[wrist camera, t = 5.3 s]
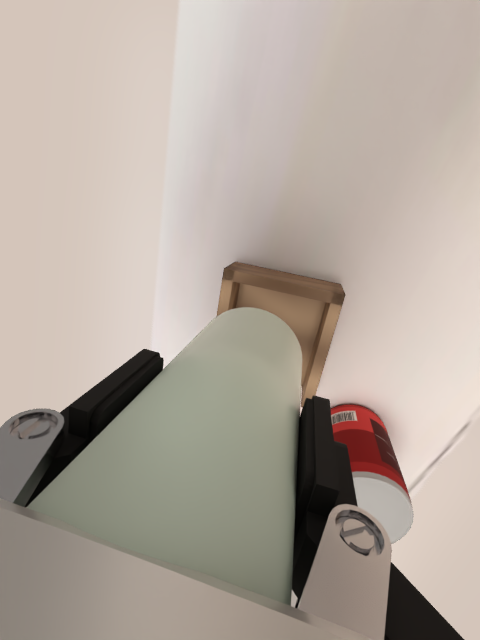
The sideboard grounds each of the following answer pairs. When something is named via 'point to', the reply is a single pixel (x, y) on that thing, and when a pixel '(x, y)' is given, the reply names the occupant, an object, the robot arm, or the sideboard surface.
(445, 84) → the sideboard surface
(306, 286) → the u rest
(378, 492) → the canned food
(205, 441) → the bottle
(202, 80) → the sideboard surface
